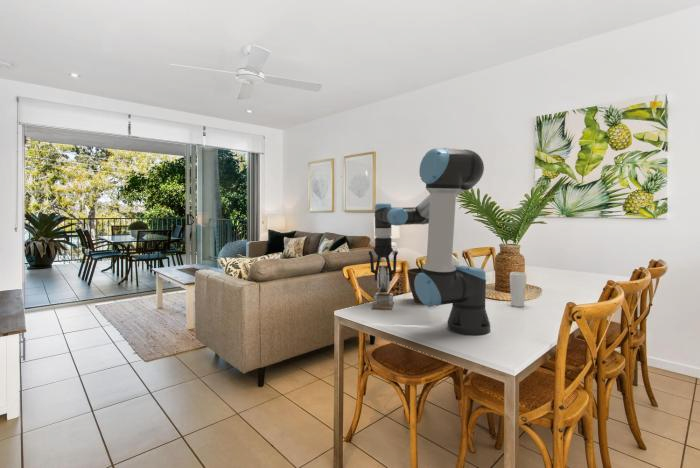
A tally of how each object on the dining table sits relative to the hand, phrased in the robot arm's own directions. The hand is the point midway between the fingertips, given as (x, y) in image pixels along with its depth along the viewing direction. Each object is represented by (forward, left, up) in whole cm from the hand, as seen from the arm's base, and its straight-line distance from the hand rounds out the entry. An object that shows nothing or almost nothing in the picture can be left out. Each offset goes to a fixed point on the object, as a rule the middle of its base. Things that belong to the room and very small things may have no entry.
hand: (383, 287), depth 169 cm
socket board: (-4, 0, -9) cm, 9 cm away
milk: (+20, -30, -9) cm, 37 cm away
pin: (0, 0, -2) cm, 2 cm away
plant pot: (+5, -18, -9) cm, 21 cm away
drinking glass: (+8, -60, -9) cm, 61 cm away
